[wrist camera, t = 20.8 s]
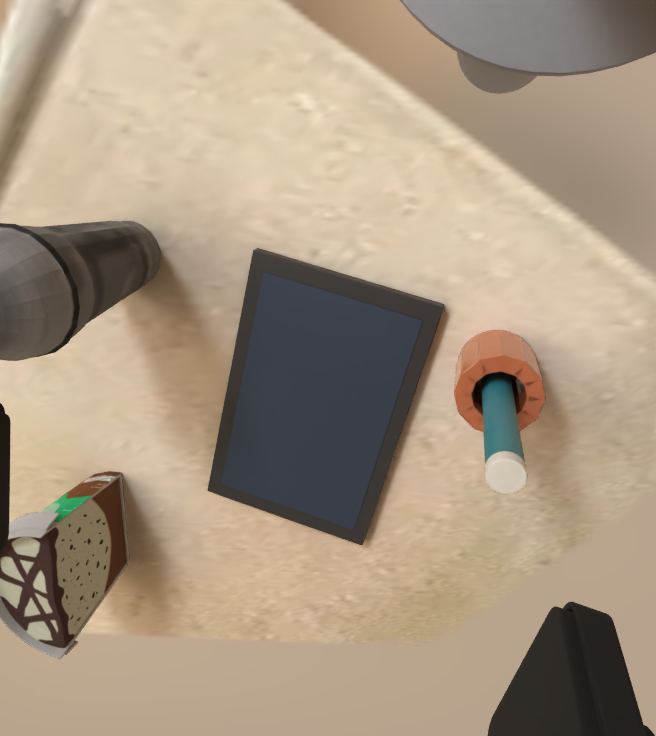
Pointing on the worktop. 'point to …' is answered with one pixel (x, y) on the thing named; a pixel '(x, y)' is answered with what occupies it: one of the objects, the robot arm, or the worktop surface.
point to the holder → (498, 356)
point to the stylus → (502, 435)
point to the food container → (63, 564)
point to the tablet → (318, 393)
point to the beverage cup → (66, 280)
